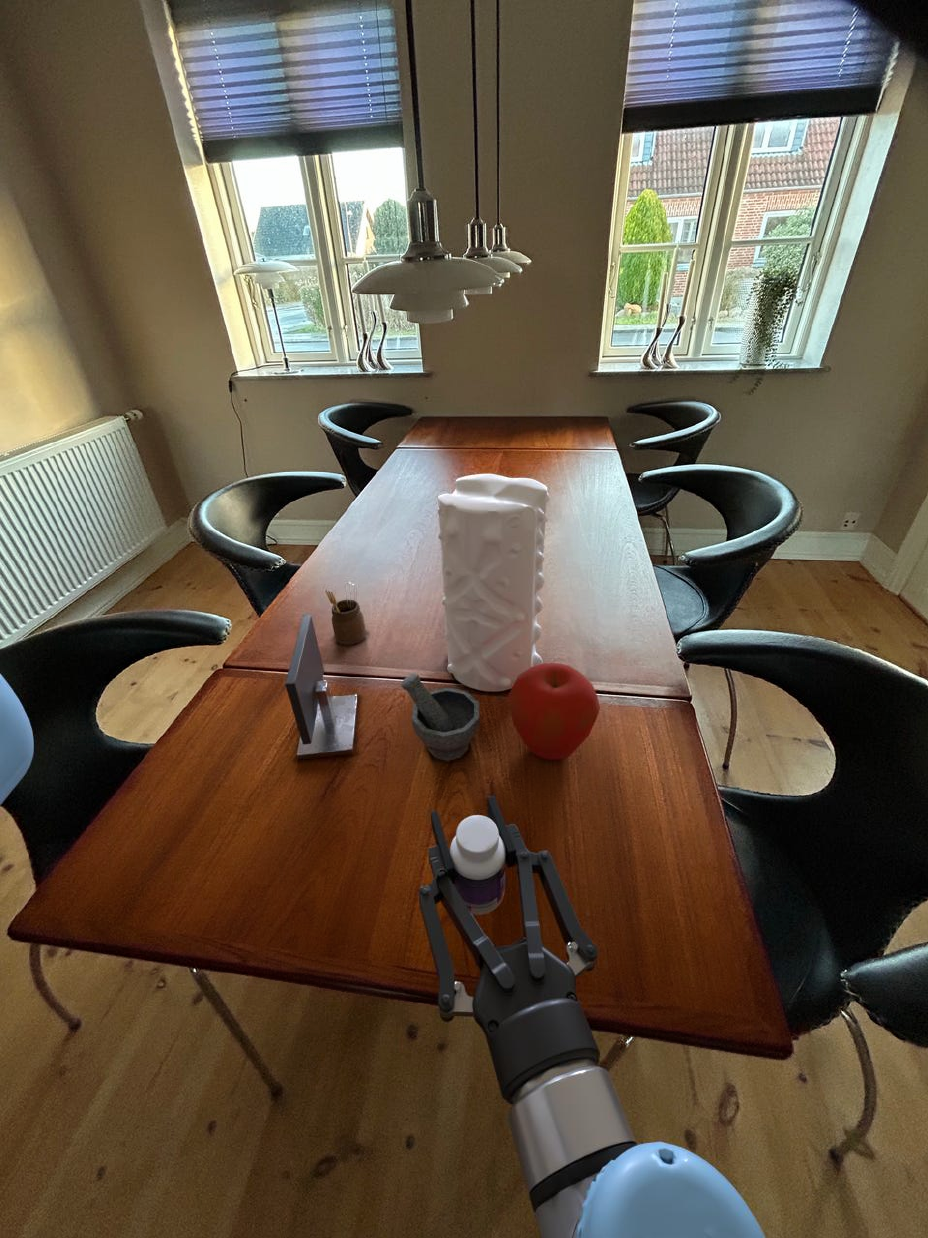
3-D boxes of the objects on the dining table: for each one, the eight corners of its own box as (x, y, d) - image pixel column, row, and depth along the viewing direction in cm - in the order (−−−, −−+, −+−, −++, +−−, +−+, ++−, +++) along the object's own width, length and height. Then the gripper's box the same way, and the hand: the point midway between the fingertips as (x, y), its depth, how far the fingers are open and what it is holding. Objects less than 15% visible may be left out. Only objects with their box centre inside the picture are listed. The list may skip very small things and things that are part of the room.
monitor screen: (301, 744, 73) (284, 684, 67) (316, 671, 86) (302, 615, 80) (311, 744, 73) (294, 683, 67) (324, 670, 86) (311, 614, 80)
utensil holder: (372, 632, 103) (364, 579, 97) (351, 650, 99) (341, 595, 92) (349, 624, 106) (339, 572, 99) (327, 641, 101) (315, 587, 95)
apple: (491, 746, 78) (490, 673, 70) (542, 705, 85) (546, 634, 77) (558, 795, 71) (566, 718, 63) (608, 746, 77) (621, 671, 69)
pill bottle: (512, 907, 53) (514, 850, 48) (460, 923, 52) (457, 867, 46) (494, 859, 57) (495, 802, 52) (446, 873, 56) (442, 816, 51)
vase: (428, 679, 91) (412, 502, 73) (468, 628, 103) (462, 466, 85) (522, 705, 85) (529, 520, 67) (552, 649, 97) (564, 478, 79)
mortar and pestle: (489, 729, 81) (488, 668, 74) (470, 776, 74) (467, 713, 67) (421, 714, 84) (414, 654, 77) (396, 758, 77) (386, 696, 70)
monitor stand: (297, 759, 77) (284, 717, 72) (308, 703, 87) (297, 663, 82) (352, 754, 78) (343, 711, 73) (357, 698, 88) (349, 658, 83)
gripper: (430, 1152, 37) (379, 856, 56) (661, 1057, 41) (542, 811, 60) (422, 1120, 33) (370, 812, 51) (681, 1018, 37) (546, 766, 55)
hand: (463, 812), depth 55 cm, fingers closed on pill bottle, 5 cm apart
